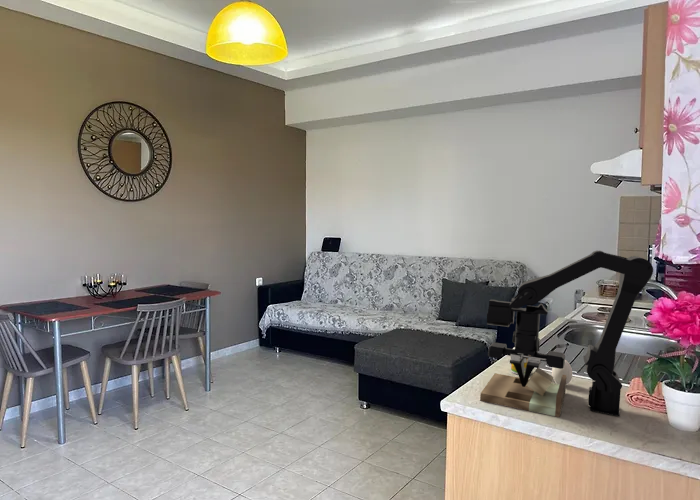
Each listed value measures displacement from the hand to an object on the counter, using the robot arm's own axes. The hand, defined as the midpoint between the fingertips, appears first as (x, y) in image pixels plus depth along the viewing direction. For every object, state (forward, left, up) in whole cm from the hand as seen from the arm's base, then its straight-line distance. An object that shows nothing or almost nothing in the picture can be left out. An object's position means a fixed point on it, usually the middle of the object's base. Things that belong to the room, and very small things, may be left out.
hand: (523, 386), depth 126 cm
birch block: (-3, 0, 0) cm, 3 cm away
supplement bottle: (+4, -20, -3) cm, 21 cm away
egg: (-8, -15, -3) cm, 17 cm away
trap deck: (0, 0, -3) cm, 3 cm away
